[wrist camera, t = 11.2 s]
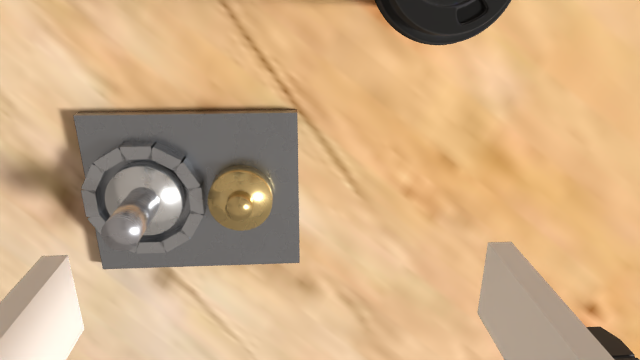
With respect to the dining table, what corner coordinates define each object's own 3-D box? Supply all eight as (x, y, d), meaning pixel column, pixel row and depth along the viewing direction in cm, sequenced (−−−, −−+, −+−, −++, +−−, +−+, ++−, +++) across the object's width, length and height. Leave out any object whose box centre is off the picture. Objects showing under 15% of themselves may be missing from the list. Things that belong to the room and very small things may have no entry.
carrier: (78, 112, 44) (55, 126, 40) (296, 109, 46) (298, 122, 41) (107, 262, 50) (89, 289, 46) (299, 256, 52) (300, 282, 47)
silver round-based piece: (104, 162, 45) (67, 196, 38) (180, 160, 45) (158, 193, 38) (116, 229, 48) (84, 273, 40) (188, 226, 48) (169, 270, 40)
